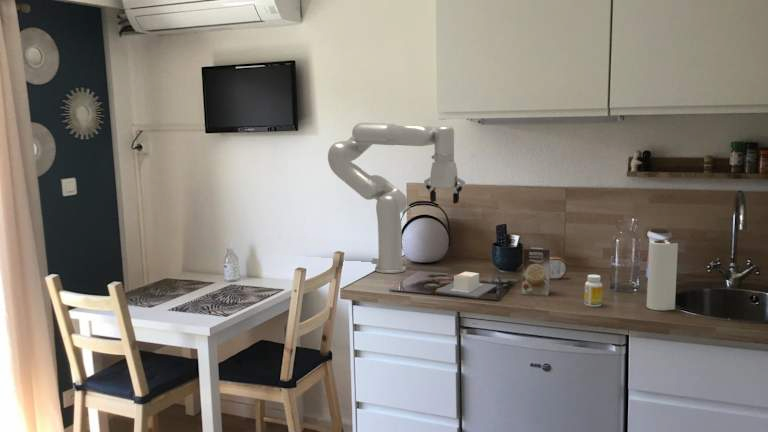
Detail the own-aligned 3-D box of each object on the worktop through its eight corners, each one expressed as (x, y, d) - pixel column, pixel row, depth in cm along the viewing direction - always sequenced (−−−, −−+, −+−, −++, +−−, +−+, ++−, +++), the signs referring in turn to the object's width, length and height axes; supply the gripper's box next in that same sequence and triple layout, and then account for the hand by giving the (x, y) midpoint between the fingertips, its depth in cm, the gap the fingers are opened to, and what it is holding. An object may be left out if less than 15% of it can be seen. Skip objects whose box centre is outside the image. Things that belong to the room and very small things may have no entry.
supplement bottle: (581, 305, 210) (582, 276, 208) (588, 301, 213) (589, 273, 212) (597, 308, 206) (598, 278, 205) (604, 304, 210) (605, 275, 208)
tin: (566, 278, 247) (566, 256, 245) (567, 280, 243) (568, 258, 242) (525, 277, 248) (526, 256, 247) (526, 279, 245) (527, 257, 244)
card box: (465, 283, 237) (465, 271, 236) (479, 285, 234) (479, 272, 233) (453, 288, 229) (453, 275, 229) (467, 290, 226) (467, 277, 226)
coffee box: (521, 294, 224) (522, 248, 222) (522, 289, 230) (523, 245, 228) (548, 296, 221) (549, 249, 219) (549, 291, 227) (550, 246, 225)
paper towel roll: (642, 307, 206) (645, 241, 203) (654, 304, 209) (657, 239, 206) (662, 313, 199) (665, 244, 196) (674, 309, 203) (678, 242, 200)
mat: (435, 292, 228) (435, 290, 228) (456, 281, 243) (456, 279, 243) (477, 298, 220) (477, 295, 220) (497, 286, 235) (497, 284, 235)
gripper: (419, 158, 252) (420, 202, 254) (460, 159, 243) (460, 204, 245) (428, 157, 258) (429, 200, 261) (468, 158, 249) (468, 202, 252)
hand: (444, 202), depth 253 cm, fingers open, 9 cm apart
